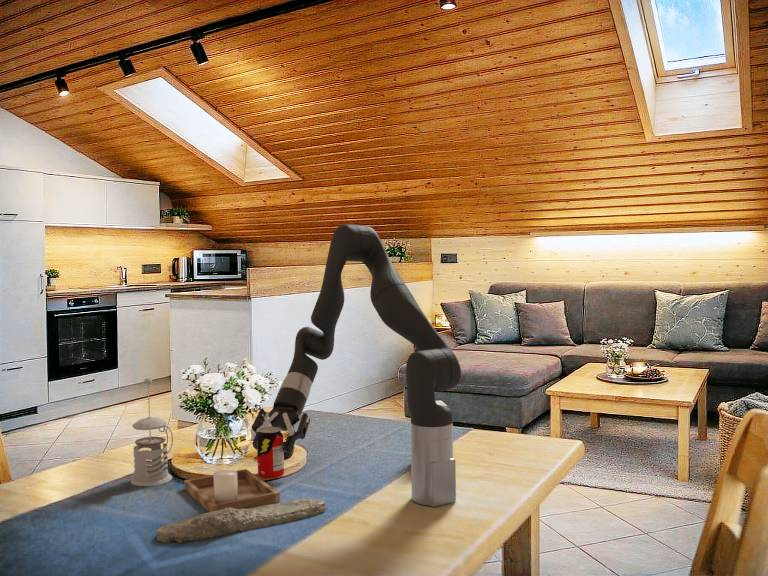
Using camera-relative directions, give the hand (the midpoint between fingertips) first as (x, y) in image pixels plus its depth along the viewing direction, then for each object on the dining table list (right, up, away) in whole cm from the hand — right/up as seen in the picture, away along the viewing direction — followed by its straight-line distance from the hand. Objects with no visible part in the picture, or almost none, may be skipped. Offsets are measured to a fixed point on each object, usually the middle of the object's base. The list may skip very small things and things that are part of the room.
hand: (270, 450), depth 179 cm
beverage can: (0, -7, 0) cm, 7 cm away
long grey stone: (0, -9, -30) cm, 32 cm away
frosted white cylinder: (-6, -7, -21) cm, 23 cm away
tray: (-7, -8, -14) cm, 18 cm away
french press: (-29, -7, +1) cm, 30 cm away
